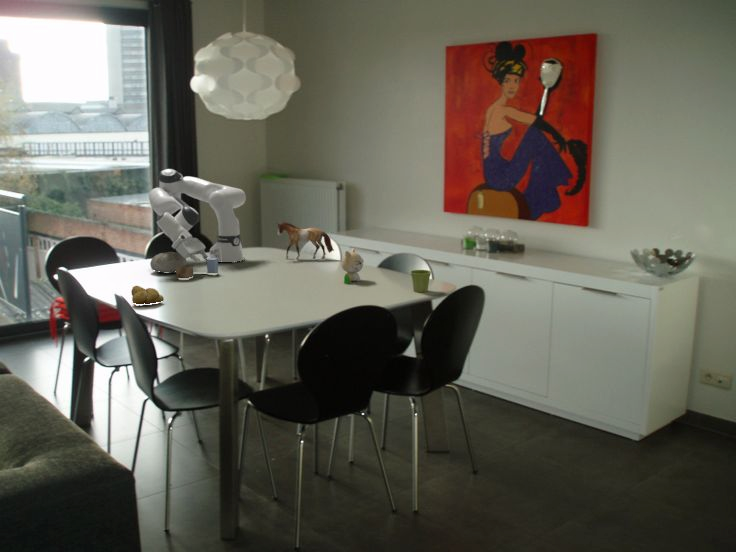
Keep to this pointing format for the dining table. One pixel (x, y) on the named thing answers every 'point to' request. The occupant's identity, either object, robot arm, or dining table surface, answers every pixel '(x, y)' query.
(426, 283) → the plant pot
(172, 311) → the dining table surface
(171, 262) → the decorative shell
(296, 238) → the horse figurine
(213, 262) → the blue brick
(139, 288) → the bread roll
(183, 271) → the walnut cube
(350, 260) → the kitten
